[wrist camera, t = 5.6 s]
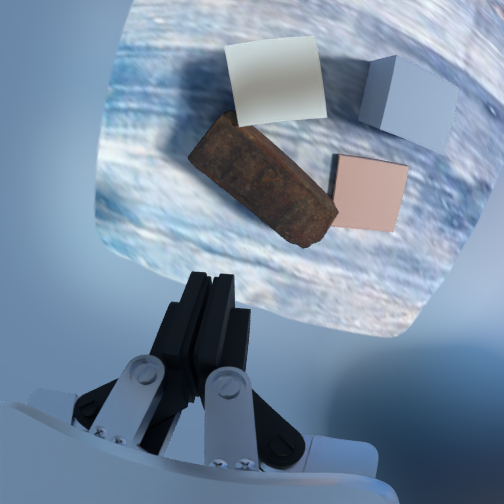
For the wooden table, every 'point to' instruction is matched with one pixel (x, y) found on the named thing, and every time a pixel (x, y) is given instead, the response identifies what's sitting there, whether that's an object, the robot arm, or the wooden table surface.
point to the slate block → (409, 102)
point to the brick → (264, 180)
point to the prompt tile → (368, 193)
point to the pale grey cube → (276, 80)
